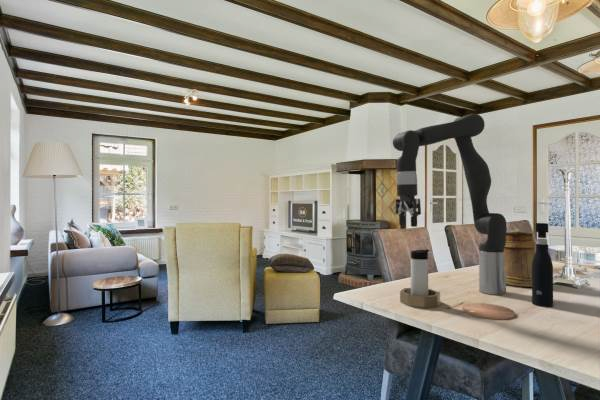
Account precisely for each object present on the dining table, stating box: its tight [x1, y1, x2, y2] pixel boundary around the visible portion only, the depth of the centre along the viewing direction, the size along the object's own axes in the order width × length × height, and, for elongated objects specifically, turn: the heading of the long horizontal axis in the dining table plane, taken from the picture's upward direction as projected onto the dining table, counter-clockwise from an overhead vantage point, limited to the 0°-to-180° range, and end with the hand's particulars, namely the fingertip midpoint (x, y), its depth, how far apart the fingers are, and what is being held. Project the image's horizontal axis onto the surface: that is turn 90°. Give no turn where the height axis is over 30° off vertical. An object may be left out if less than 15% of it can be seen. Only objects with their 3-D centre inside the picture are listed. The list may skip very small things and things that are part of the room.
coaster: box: [461, 302, 516, 321], centre depth 122 cm, size 16×16×1 cm
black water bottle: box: [531, 222, 554, 308], centre depth 131 cm, size 6×6×30 cm
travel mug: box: [410, 248, 430, 296], centre depth 134 cm, size 6×7×20 cm
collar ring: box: [399, 287, 441, 309], centre depth 134 cm, size 13×13×4 cm
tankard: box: [504, 227, 536, 288], centre depth 167 cm, size 18×24×25 cm
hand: (407, 225), depth 136 cm, fingers open, 8 cm apart
